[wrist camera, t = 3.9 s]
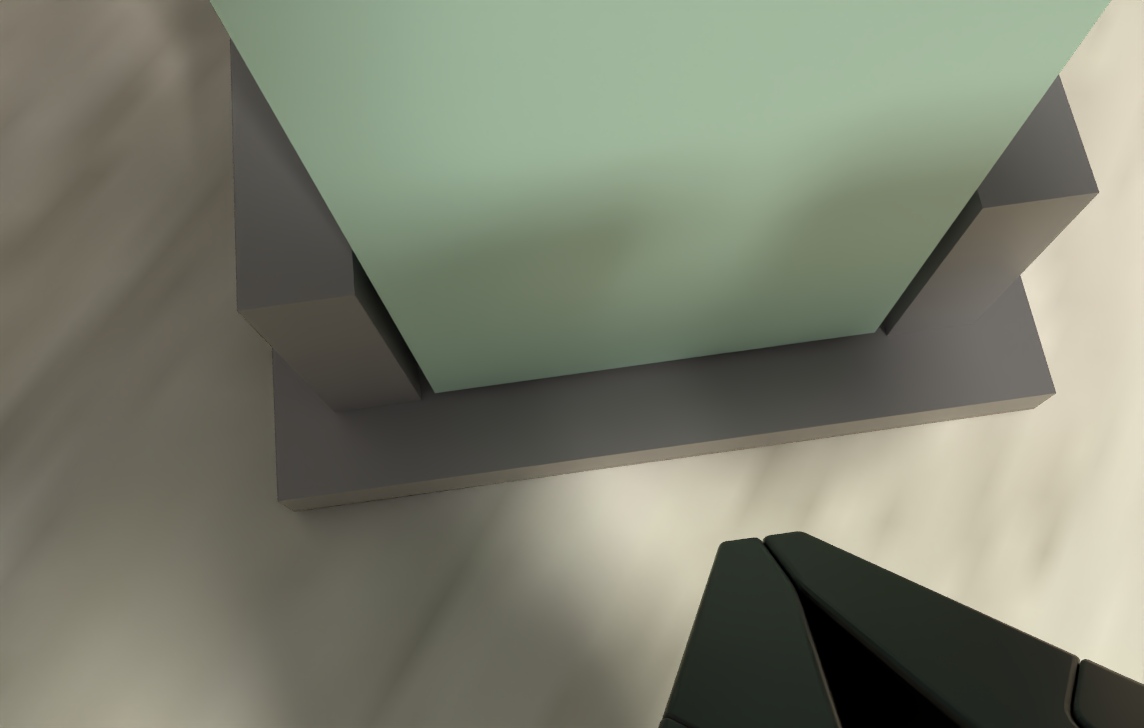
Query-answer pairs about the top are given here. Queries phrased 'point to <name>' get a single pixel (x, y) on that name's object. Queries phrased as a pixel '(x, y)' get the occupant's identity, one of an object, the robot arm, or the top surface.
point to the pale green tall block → (645, 161)
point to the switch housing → (635, 393)
